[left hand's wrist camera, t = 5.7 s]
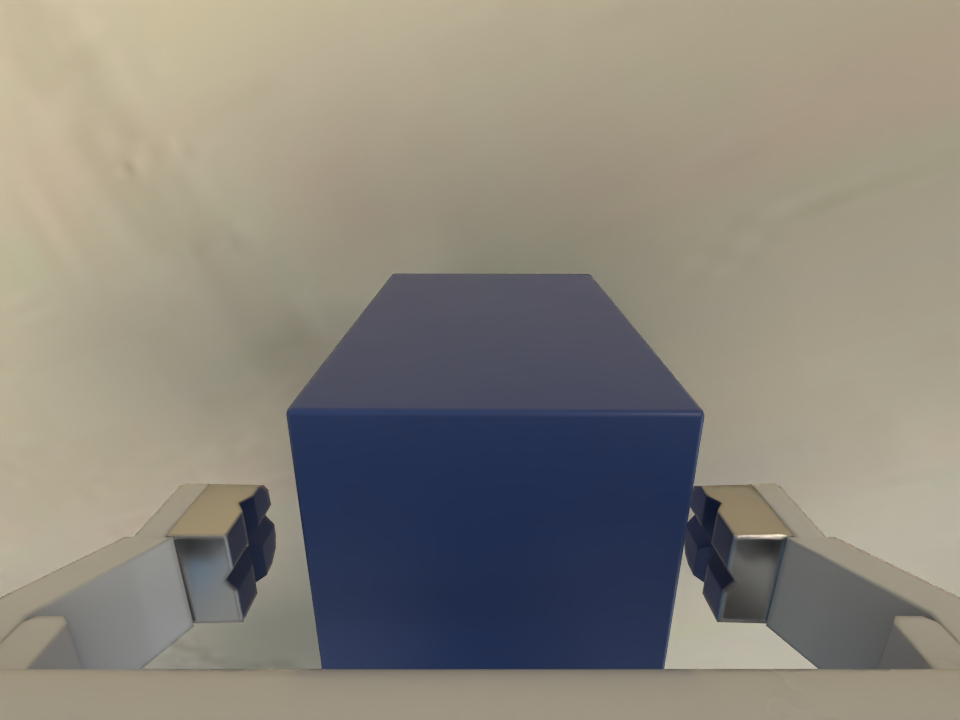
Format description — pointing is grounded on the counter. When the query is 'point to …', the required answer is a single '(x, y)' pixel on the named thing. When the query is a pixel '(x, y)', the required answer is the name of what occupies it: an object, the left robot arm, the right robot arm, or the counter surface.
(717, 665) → the counter surface
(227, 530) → the left robot arm
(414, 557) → the box
